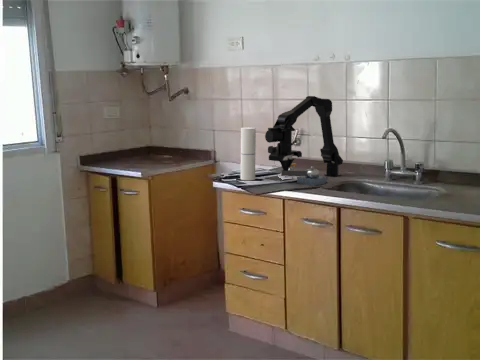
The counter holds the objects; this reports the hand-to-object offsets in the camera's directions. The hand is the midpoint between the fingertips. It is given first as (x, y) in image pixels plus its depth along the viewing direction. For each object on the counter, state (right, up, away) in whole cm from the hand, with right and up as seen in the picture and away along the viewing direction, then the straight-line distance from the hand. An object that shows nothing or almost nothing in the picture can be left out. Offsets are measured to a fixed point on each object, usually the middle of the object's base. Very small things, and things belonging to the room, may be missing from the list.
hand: (285, 173), depth 274 cm
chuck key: (+4, -1, +19) cm, 19 cm away
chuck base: (+12, -5, -2) cm, 13 cm away
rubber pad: (-2, -2, +10) cm, 11 cm away
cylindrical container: (-18, -3, +8) cm, 20 cm away
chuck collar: (+7, -1, -2) cm, 7 cm away
